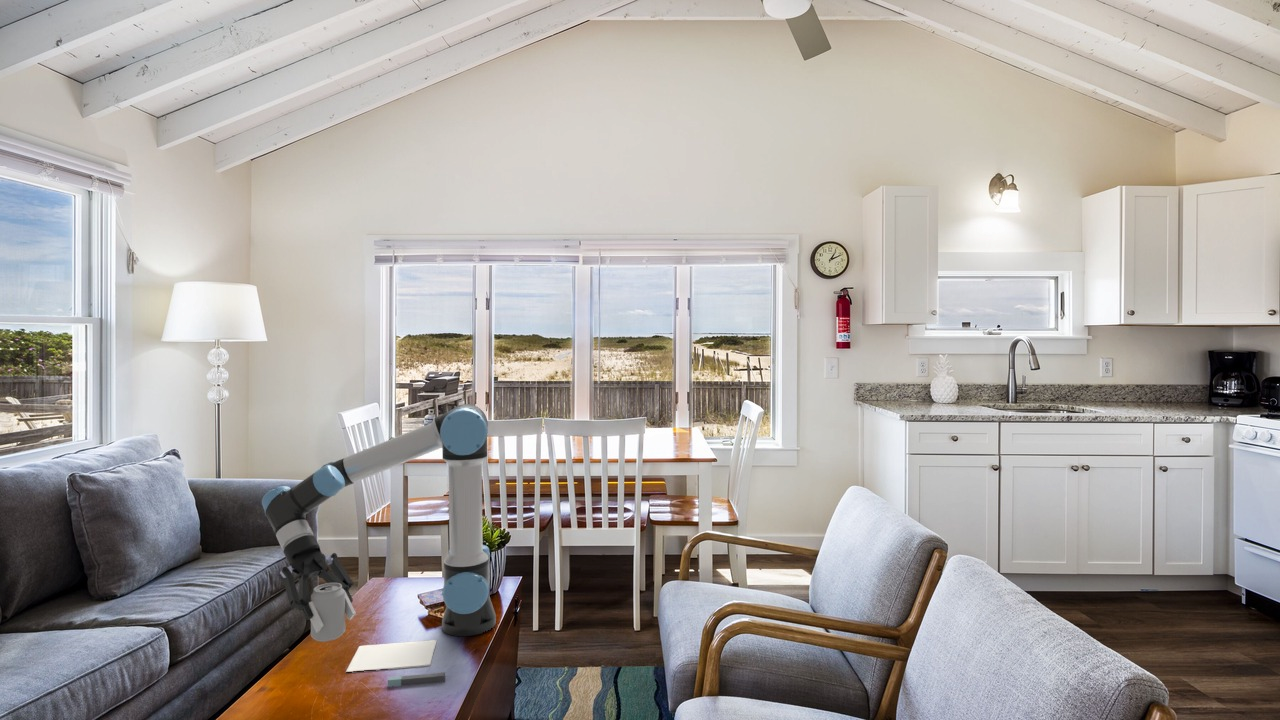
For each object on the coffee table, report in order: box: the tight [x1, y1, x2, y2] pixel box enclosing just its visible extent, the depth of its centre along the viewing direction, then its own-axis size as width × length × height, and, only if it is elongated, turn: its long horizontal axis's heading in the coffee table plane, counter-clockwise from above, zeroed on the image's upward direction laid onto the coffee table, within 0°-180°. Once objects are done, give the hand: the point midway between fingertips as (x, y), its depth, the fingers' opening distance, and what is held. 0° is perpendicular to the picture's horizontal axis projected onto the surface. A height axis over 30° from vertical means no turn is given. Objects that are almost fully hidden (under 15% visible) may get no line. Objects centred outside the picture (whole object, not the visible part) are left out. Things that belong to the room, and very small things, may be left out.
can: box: [309, 582, 346, 643], centre depth 158 cm, size 8×8×12 cm
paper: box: [345, 639, 438, 673], centre depth 172 cm, size 20×14×1 cm
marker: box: [387, 672, 446, 688], centre depth 159 cm, size 13×2×2 cm, turn 100°
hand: (336, 622), depth 156 cm, fingers closed on can, 7 cm apart
